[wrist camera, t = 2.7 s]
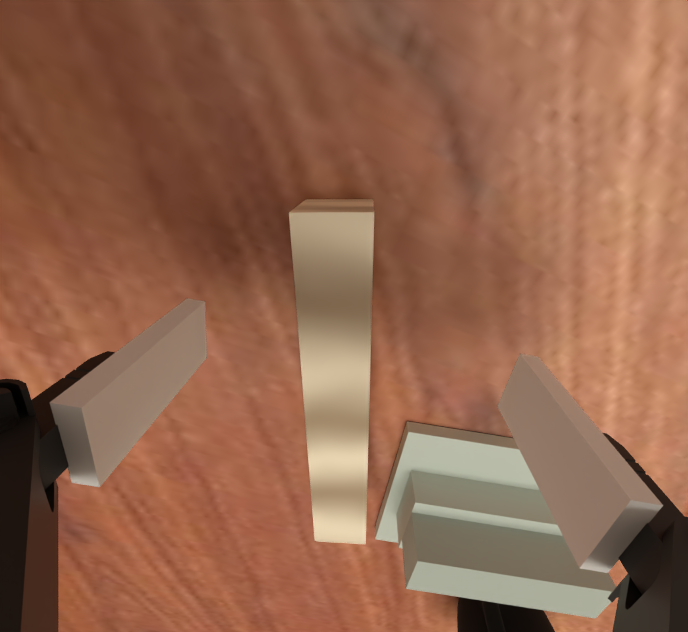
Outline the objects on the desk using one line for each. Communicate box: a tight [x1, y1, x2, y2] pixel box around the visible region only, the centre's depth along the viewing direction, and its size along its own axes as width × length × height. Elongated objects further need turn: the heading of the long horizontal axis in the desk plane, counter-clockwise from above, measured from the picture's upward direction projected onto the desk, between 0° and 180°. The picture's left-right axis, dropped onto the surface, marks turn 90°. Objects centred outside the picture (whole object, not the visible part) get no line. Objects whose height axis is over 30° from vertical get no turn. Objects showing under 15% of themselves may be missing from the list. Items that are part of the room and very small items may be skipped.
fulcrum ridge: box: [375, 421, 616, 618], centre depth 24 cm, size 12×14×6 cm
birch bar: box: [289, 199, 374, 544], centre depth 21 cm, size 22×4×4 cm, turn 1°
